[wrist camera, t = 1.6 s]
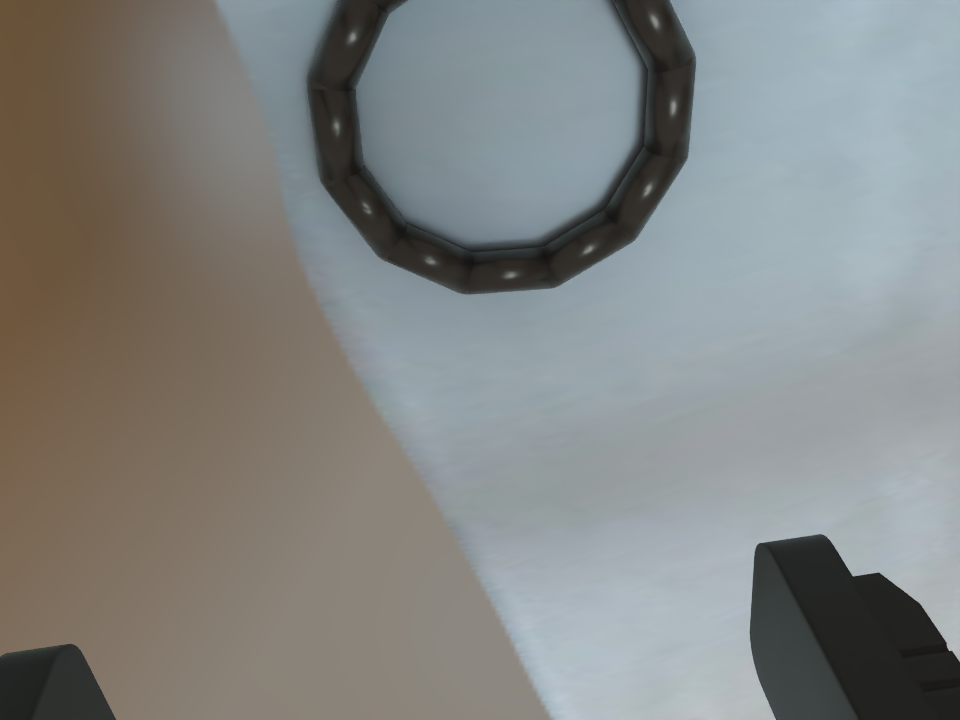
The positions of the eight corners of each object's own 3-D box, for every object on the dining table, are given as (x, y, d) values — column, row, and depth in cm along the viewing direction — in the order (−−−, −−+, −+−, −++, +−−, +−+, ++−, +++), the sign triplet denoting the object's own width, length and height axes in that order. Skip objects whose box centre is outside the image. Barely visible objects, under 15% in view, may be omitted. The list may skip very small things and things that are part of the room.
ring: (337, 293, 26) (335, 311, 25) (286, -86, 21) (282, -80, 20) (671, 268, 27) (682, 285, 26) (701, -106, 22) (716, -102, 21)
